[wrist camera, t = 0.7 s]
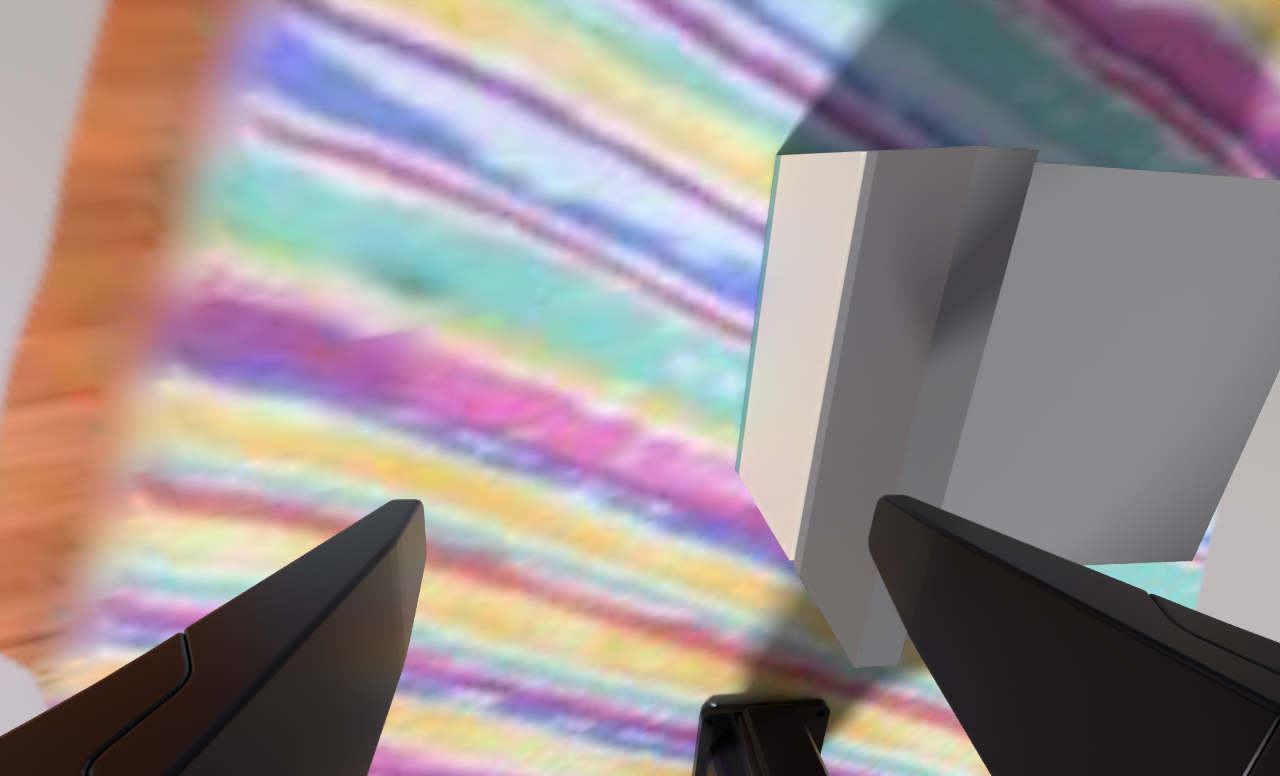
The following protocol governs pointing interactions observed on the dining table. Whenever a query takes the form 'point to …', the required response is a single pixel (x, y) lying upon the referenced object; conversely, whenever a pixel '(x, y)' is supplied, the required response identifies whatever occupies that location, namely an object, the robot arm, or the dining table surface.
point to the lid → (1037, 363)
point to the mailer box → (795, 330)
